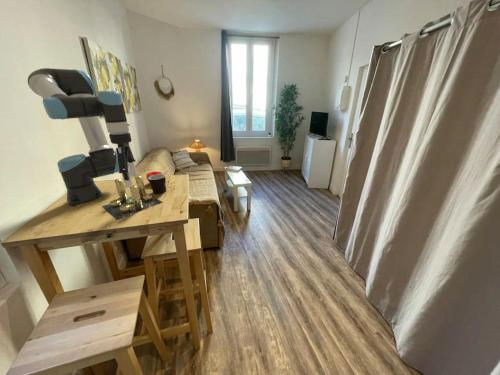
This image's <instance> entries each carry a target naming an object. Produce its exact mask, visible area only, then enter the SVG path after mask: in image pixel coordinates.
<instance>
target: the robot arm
mask: <svg viewBox="0 0 500 375" xmlns="http://www.w3.org/2000/svg"><path fill="white" fill-rule="evenodd" d="M27 84H28V87H29V88H30V90H32V92H33V93H35V94H36V95H37V96H40V97H41V98H42V104H43V108H44V110H45V112H46V115H47V116H48V118H50V119H52V120H61V121H62V120H69V119H70V120H71V119H78V121H79V124H80V126H81V128H82V131H83V134H84V137H85V139H86V142H87V144H88V146H89V151H88V152H87V153H88V156H87V155H86V154H84V153H79V154H74V155H70V156H66V157H64V158H61V159H60V160H58V161H57V163H56V164H57V167H58V172H59V173H60V174H61V175H60V176H61V178H62V180H63V182H64V183H63V184H64V186H65V188H66V203H67V204H68V206H71V207H76V206H79V205H82V204H87V203H90V202H94V201H96V200H98V199H99V198H101V197H102V196H103V192H102V191H101V189H100V188H99V187H98V186H97V185H96V183H95V180H94V179H96V178H101V177H104V176H109V175H114V174H116V173H118V174H121V176H122V181H123V184H124V188H130V187H133V185H134V184H133V180H132V177H136V176H138V173H137V168H136V166H135V163H136V159H135V156H134V155H133V154H134V153H133V151H132V149H131V146H130V143H131V142H132V135H131V133H130V132H129V131H130V129H129V127H130V123H128V119H127V115H126V111H125V105H124V100H123V98H122V95H121V93H120V92H119V91H117V90H114V91H113V90H101V91H100V90H98V92H96V87H95V84H94V82H93V80H92V78H91V77H90V75H89V74H88V73H87V72H86V71H84V70H82V69H81V70H80V69H74V68H73V69H66V68H50V67H49V68H47V67H43V68H40V69H39V68H38V69H37V70H34V71H32V72H30V74H29V75H28V77H27ZM96 93H97V96H95V95H96ZM99 117H103V118H104V122H105V123H104V124H105V125H106V130H107V133H109V139H110V143H111V144H113V145H117V147H115V149H114V148H113V147H112V146H110V145H109V143H108V140H107V139H108V138H107V137H106V135H105V132H104V129H103V127H102V123H101V121H100V118H99Z"/></svg>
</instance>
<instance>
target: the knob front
mask: <svg viewBox="0 0 500 375" xmlns="http://www.w3.org/2000/svg"><path fill="white" fill-rule="evenodd" d="M129 191H130V193H131V197H132V198H133V202H134V204H131V205H130V204H125V205H122V206H120V211H121V212H128V211H130V210H131V208H135V209H137V210H138V209H142V208H143V205H142V201H141V198H140V194H139V190H138V186H137V184H133V187H129Z"/></svg>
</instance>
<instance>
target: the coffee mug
mask: <svg viewBox="0 0 500 375" xmlns="http://www.w3.org/2000/svg"><path fill="white" fill-rule="evenodd" d="M148 179H149V181H148V182H150V183H149V184H150V187H151V190H152V192H153V194H154V195H161V194H164V193H166V192H167V183H166V182H167V181H166V175H165V174H163V173H162V174H156V175H152V176H150V177H148Z"/></svg>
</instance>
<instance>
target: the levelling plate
mask: <svg viewBox="0 0 500 375" xmlns="http://www.w3.org/2000/svg"><path fill="white" fill-rule="evenodd" d="M152 197H153V199H151V200H149V201H144V200H143V197H140V198H141V201H142V205H143V208H142V209H138V210H137V209H135V208H131V210H130V211H128V212H121V211H120V206H122V205H125V204H130V205H131V204H134V202H133V198H132V196H129V197H127V198H128V199H127V200H126V201H121V205H120V206H117V207H111V205H110V203H108V204H106V205H102V206H101V208H102V209H104V210H105V211H106V212H107V213H108V214H109V215H110V216H112V218H114V219H115V220H116V221H120V220H122V219H124V218H127V217H129V216H132V215H134V214H137V213H140V212H142V211H145V210H147V209H150V208H153V207H155V206H157V205H160V204H163V201H161V200H160V199H157V198H156V197H154V196H152Z"/></svg>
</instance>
